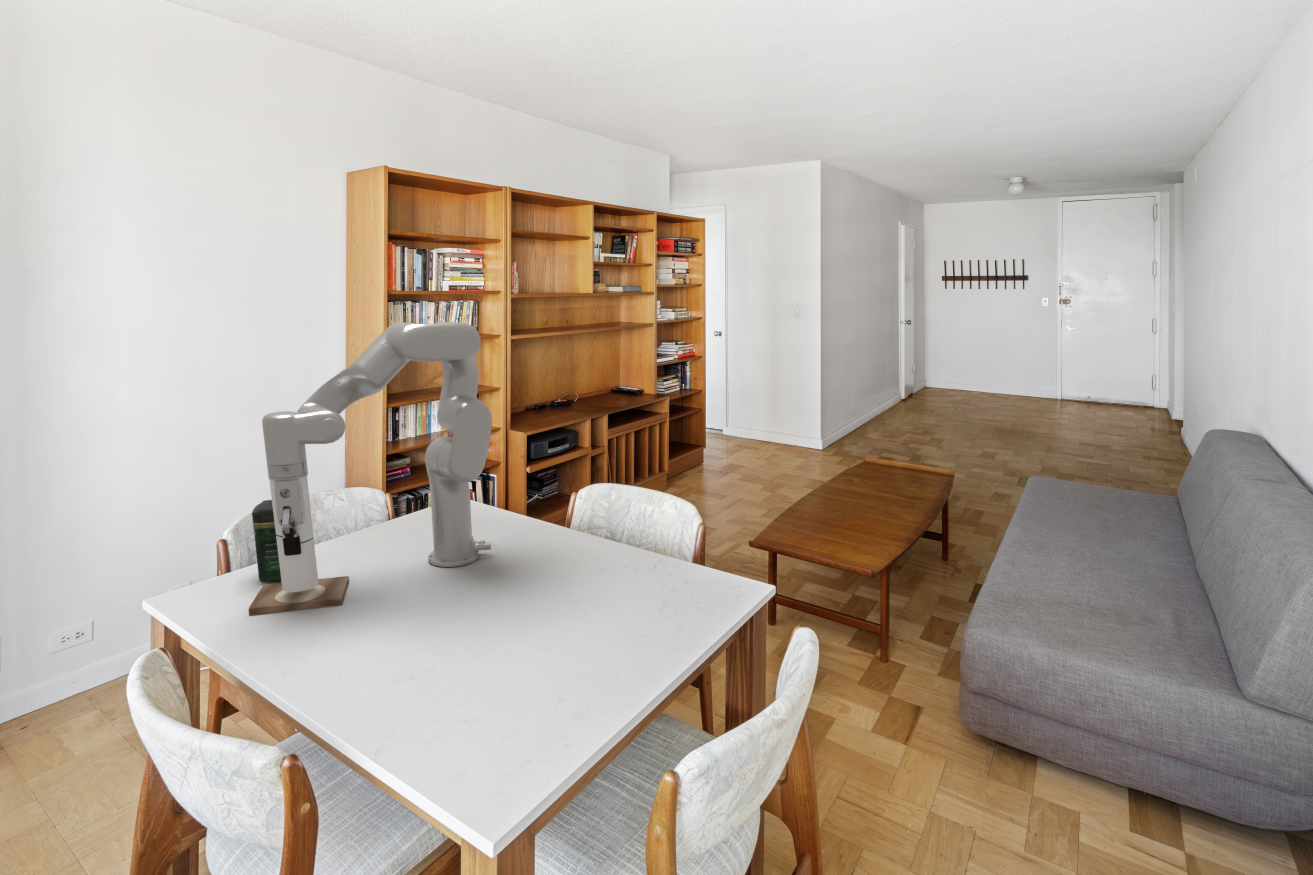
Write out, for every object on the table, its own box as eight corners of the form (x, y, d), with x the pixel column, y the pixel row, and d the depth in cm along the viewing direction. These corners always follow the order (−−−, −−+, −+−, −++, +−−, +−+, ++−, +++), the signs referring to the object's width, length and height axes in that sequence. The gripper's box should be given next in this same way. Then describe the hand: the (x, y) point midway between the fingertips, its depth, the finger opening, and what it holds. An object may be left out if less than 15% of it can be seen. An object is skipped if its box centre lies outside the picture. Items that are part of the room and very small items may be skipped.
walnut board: (349, 581, 164) (348, 575, 164) (341, 604, 152) (341, 598, 152) (263, 590, 159) (263, 584, 159) (249, 615, 147) (248, 608, 147)
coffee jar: (295, 581, 165) (287, 506, 161) (257, 586, 162) (248, 510, 158) (298, 567, 173) (290, 495, 170) (262, 571, 170) (253, 498, 166)
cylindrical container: (290, 579, 158) (278, 472, 152) (323, 578, 158) (312, 471, 153) (276, 592, 151) (263, 480, 145) (310, 591, 151) (298, 480, 146)
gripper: (299, 478, 142) (308, 560, 145) (313, 459, 158) (321, 533, 162) (258, 481, 140) (268, 564, 143) (277, 461, 156) (285, 536, 160)
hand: (296, 547), depth 153 cm, fingers closed on cylindrical container, 7 cm apart
